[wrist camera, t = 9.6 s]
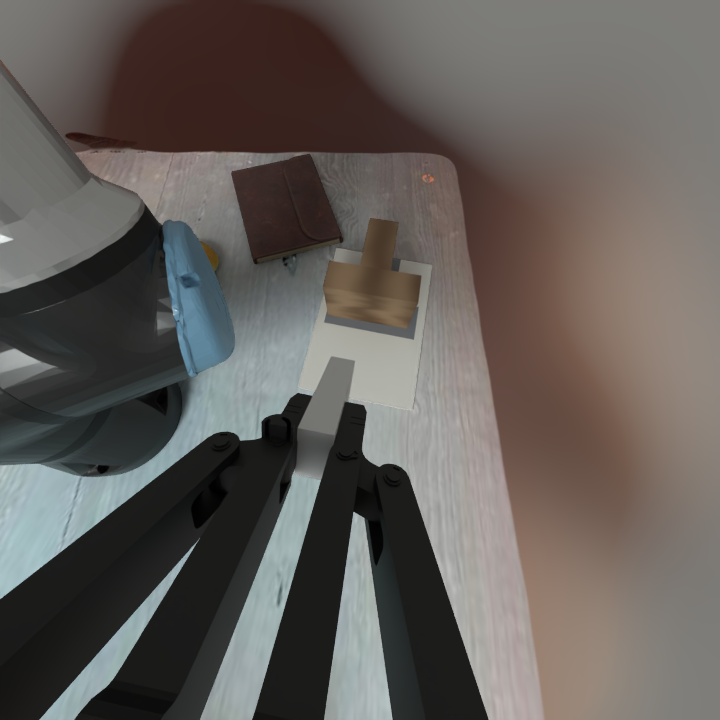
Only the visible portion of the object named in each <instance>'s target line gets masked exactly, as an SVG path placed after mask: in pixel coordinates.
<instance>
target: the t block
mask: <svg viewBox="0 0 720 720" xmlns="http://www.w3.org/2000/svg"><path fill="white" fill-rule="evenodd" d="M398 223H399V222H393V221H386V220H380V219H374V218H370V220H369V225H368V230H367V235H366V239H365V244H364V249H363V254H362V258H361V263H360V265H354V264H347V263H341V262H335V261H329V265H328V269H327V273H326V276H325V280H324V284H323V290H324V296H325V301H326V307H327V312H328V315H329V316H335V317H341V318H347V319H353V320H359V321H365V322H371V323H376V324H382V325H388V326H394V327H400V328H406V329H407V327H408V325H409V323H410V320H411V318H412V316H413V314H414V311H415V309H416V307H417V305H418V301H419V293H420V285H421V275H415V274H409V273H403V272H396V271H391V266H392V260H393V254H394V248H395V241H396V235H397V229H398Z"/></svg>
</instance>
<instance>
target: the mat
mask: <svg viewBox="0 0 720 720" xmlns="http://www.w3.org/2000/svg"><path fill="white" fill-rule="evenodd" d="M362 254H363V252H357V251H352V250H346V249H341V248H336V251H335V255H334V259H333V261H335V262H341V263H347V264H354V265H360V263H361V258H362ZM391 271H396V272H403V273H409V274H415V275H421V285H420V293H419V301H418V305H417V307H416V309H415V311H414V314H413V316H412V318H411V320H410V323H409V325H408V327H407V329H406V328H400V327H394V326H388V325H382V324H376V323H371V322H365V321H359V320H353V319H347V318H341V317H335V316H329V315H328V312H327V307H326V301H325V296H324V294H323V298H322V301H321V305H320V309H319V312H318V316H317V319H316V323H315V327H314V330H313V334H312V337H311V341H310V344H309V348H308V352H307V355H306V359H305V362H304V366H303V369H302V373H301V377H300V380H299V384H298V388H301V389H306V390H311V391H315V390H316V388H317V386H318V383H319V381H320V379H321V377H322V375H323V373H324V371H325V369H326V366H327V364H328V362H329V360H330V358H331V356H333V357H339V358H344V359H349V360H354V361H355V366H354V371H353V377H352V383H351V389H350V395H349V398H350V399H355V400H360V401H365V402H370V403H375V404H380V405H385V406H390V407H395V408H400V409H405V410H409V411H413V404H414V397H415V389H416V382H417V375H418V367H419V360H420V352H421V345H422V338H423V330H424V323H425V316H426V308H427V301H428V294H429V286H430V279H431V272H432V265H429V264H423V263H418V262H412V261H407V260H401V259H395V258H393V260H392V266H391Z"/></svg>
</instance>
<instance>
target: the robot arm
mask: <svg viewBox="0 0 720 720" xmlns="http://www.w3.org/2000/svg"><path fill="white" fill-rule="evenodd" d="M234 346H235V335H234V329H233V324H232V321H231V317H230V314H229V310H228V307H227V304H226V301H225V298H224V295H223V293H222V290H221V287H220V285H219V282H218V280H217V277H216V275H215V272H214V270H213V268H212V265H211V263H210V261H209V259H208V257H207V255H206V253H205V251H204V249H203V247H202V245H201V243H200V241H199V240H198V238H197V237H196V235H195V234H194V233H193V231H192V230H191V228H190V227H189V226H188V225H187V224H186V223H184V222H182V221H175V222H174V221H172V220H167V221H165V222H164V223H163V225H161V224H160V223H159V222H158V221H157V220H156V219H155V217H154V216H153V214H152V213H151V212H150V210H149V209H148V207H147V206H146V205H145V203H144V202H143V200H142V199H141V198H140V197H139V196H138V194H137V193H135V192H133V191H131V190H128V189H126V188H123V187H121V186H118V185H116V184H113V183H111V182H108V181H106V180H103V179H101V178H99V177H97V176H96V175H94V174H93V173H91V172H90V171H89V170H88V169H87V168H86V166H85V165H84V164H83V163H82V161H81V160H80V159H79V158H78V156H77V155H76V154H75V153H74V151H73V150H72V149H71V148H70V146H69V145H68V144H67V143H66V141H65V140H64V139H63V138H62V136H61V135H60V134H59V133H58V131H57V130H56V129H55V128H54V126H53V125H52V124H51V123H50V121H49V120H48V119H47V117H46V116H45V115H44V114H43V113H42V111H41V110H40V109H39V107H38V106H37V105H36V104H35V102H34V101H33V100H32V99H31V97H30V96H29V95H28V94H27V93H26V91H25V90H24V89H23V87H22V86H21V85H20V84H19V82H18V81H17V80H16V79H15V77H14V76H13V75H12V74H11V72H10V71H9V70H8V69H7V67H6V66H5V65H4V64H3V62H2V61H1V60H0V465H16V464H41V465H44V466H48V467H51V468H54V469H57V470H60V471H64V472H67V473H70V474H73V475H77V476H83V477H101V476H111V475H118V474H122V473H126V472H129V471H131V470H134V469H136V468H138V467H140V466H141V465H143V464H145V463H146V462H148V461H149V460H150V459H152V458H153V457H154V456H155V455H156V454H157V453H159V452H160V450H161V449H162V448H163V447H164V446H165V445H166V444H167V442H168V441H169V439H170V438H171V436H172V435H173V433H174V431H175V429H176V427H177V424H178V421H179V418H180V414H181V407H182V398H181V392H180V388H179V386H178V383H177V382H179V381H182V380H184V379H187V378H190V377H192V378H193V377H195V376H197V375H198V373H199V372H201V371H203V370H206V369H208V368H210V367H212V366H215V365H217V364H219V363H221V362H223V361H225V360H226V359H228V358H229V357H230V355H231V354H232V352H233V350H234ZM354 366H355V361H354V360H349V359H344V358H339V357H333V356H331V358H330V360H329V362H328V364H327V366H326V369H325V371H324V373H323V375H322V377H321V379H320V381H319V383H318V386H317V388H316V390H315V392H314V394H313V396H310V395H305V394H300V393H297V394H296V395H294V396H293V397H291V398H290V400H289V402H288V404H287V406H286V407H285V409H284V411H283V412H282V414H275V415H271V416H268V417H266V418H265V419H264V420H263V421H262V438H260V439H256V440H245V441H240V440H239V437H238V436H237V435H236V434H234V433H231V432H220V433H216V434H213V435H212V436H210V437H208V438H207V439H206V440H204V441H203V442H202V443H200V444H199V445H198V446H197V447H195V448H194V449H193V450H191V451H190V452H189V453H188V454H186V455H185V456H184V457H182V458H181V459H180V460H179V461H177V462H176V463H175V464H173V465H172V466H171V467H170V468H168V469H167V470H166V471H164V472H163V473H162V474H161V475H159V476H158V477H157V478H155V479H154V480H153V481H152V482H150V483H149V484H148V485H146V486H145V487H144V488H143V489H141V490H140V491H139V492H137V493H136V494H135V495H134V496H132V497H131V498H130V499H128V500H127V501H126V502H125V503H123V504H122V505H121V506H119V507H118V508H117V509H116V510H114V511H113V512H112V513H110V514H109V515H108V516H107V517H105V518H104V519H103V520H101V521H100V522H99V523H98V524H96V525H95V526H94V527H92V528H91V529H90V530H89V531H87V532H86V533H85V534H84V535H82V536H81V537H80V538H78V539H77V540H76V541H75V542H73V543H72V544H71V545H69V546H68V547H67V548H66V549H64V550H63V551H62V552H60V553H59V554H58V555H57V556H55V557H54V558H53V559H51V560H50V561H49V562H48V563H46V564H45V565H44V566H42V567H41V568H40V569H39V570H37V571H36V572H35V573H33V574H32V575H31V576H30V577H28V578H27V579H26V580H24V581H23V582H22V583H21V584H19V585H18V586H17V587H15V588H14V589H13V590H12V591H10V592H9V593H8V594H6V595H5V596H4V597H3V598H1V599H0V720H39V719H40V718H41V717H42V716H43V715H44V714H45V713H46V711H47V710H48V709H49V708H50V707H51V706H52V705H53V703H54V702H55V701H56V700H57V699H58V698H59V697H60V696H61V694H62V693H63V692H64V691H65V690H66V689H67V688H68V687H69V685H70V684H71V683H72V682H73V681H74V680H75V679H76V677H77V676H78V675H79V674H80V673H81V672H82V671H83V670H84V668H85V667H86V666H87V665H88V664H89V663H90V662H91V661H92V659H93V658H94V657H95V656H96V655H97V654H98V653H99V651H100V650H101V649H102V648H103V647H104V646H105V645H106V644H107V642H108V641H109V640H110V639H111V638H112V637H113V636H114V635H115V633H116V632H117V631H118V630H119V629H120V628H121V627H122V625H123V624H124V623H125V622H126V621H127V620H128V619H129V618H130V616H131V615H132V614H133V613H134V612H135V611H136V610H137V609H138V607H139V606H140V605H141V604H142V603H143V602H144V601H145V599H146V598H147V597H148V596H149V595H150V594H151V593H152V592H153V590H154V589H155V588H156V587H157V586H158V585H159V584H160V583H161V581H162V580H163V579H164V578H165V577H166V576H167V575H168V573H169V572H170V571H171V570H172V569H173V568H174V567H175V566H176V564H177V563H178V562H179V561H180V560H181V559H182V558H183V557H184V555H185V554H186V553H187V552H188V551H189V550H190V549H191V547H192V546H193V545H194V544H195V543H196V542H197V541H198V540H199V541H198V542H197V544H196V546H195V547H194V549H193V551H192V552H191V554H190V555H189V557H188V559H187V560H186V562H185V564H184V565H183V567H182V569H181V570H180V572H179V573H178V575H177V577H176V578H175V580H174V582H173V583H172V585H171V587H170V588H169V590H168V592H167V593H166V595H165V596H164V598H163V600H162V601H161V603H160V605H159V606H158V608H157V610H156V611H155V613H154V614H153V616H152V618H151V619H150V621H149V623H148V624H147V626H146V628H145V629H144V631H143V632H142V634H141V636H140V637H139V639H138V641H137V642H136V644H135V646H134V647H133V649H132V650H131V652H130V654H129V655H128V657H127V659H126V660H125V662H124V664H123V665H122V667H121V668H120V670H119V672H118V673H117V674H116V676H115V677H114V679H113V680H112V681H111V683H110V684H109V685H108V686H107V687H106V688H105V689H103V690H102V691H101V692H100V693H98V694H97V695H96V696H94V697H93V698H92V699H91V700H90V701H89V702H88V704H87V705H86V706H85V707H84V708H83V709H82V710H81V712H80V713H79V714H78V716H77V717H76V718H75V720H200V718H201V715H202V712H203V710H204V707H205V705H206V702H207V700H208V697H209V694H210V692H211V689H212V687H213V684H214V682H215V679H216V676H217V674H218V671H219V669H220V666H221V664H222V661H223V658H224V656H225V653H226V651H227V648H228V646H229V643H230V640H231V638H232V635H233V633H234V630H235V628H236V625H237V622H238V620H239V617H240V615H241V612H242V609H243V607H244V604H245V602H246V599H247V597H248V594H249V591H250V589H251V586H252V584H253V581H254V579H255V576H256V573H257V571H258V568H259V566H260V563H261V561H262V558H263V555H264V553H265V550H266V548H267V545H268V543H269V540H270V537H271V535H272V532H273V530H274V527H275V525H276V522H277V519H278V517H279V514H280V512H281V509H282V507H283V504H284V501H285V499H286V496H287V494H288V491H289V488H290V486H291V478H292V474H293V472H294V469H295V475H299V476H304V477H309V478H314V479H319V480H321V482H320V486H319V489H318V493H317V496H316V500H315V503H314V507H313V510H312V514H311V517H310V521H309V524H308V528H307V531H306V535H305V538H304V542H303V545H302V549H301V552H300V556H299V559H298V563H297V566H296V570H295V573H294V577H293V580H292V584H291V588H290V591H289V595H288V598H287V602H286V605H285V609H284V612H283V616H282V619H281V623H280V626H279V630H278V633H277V637H276V640H275V644H274V647H273V651H272V654H271V658H270V661H269V665H268V668H267V672H266V675H265V679H264V682H263V686H262V689H261V693H260V696H259V700H258V703H257V706H256V710H255V713H254V716H253V719H252V720H324V715H325V708H326V701H327V694H328V687H329V680H330V673H331V666H332V659H333V652H334V645H335V637H336V630H337V623H338V616H339V609H340V602H341V595H342V588H343V581H344V574H345V567H346V560H347V553H348V546H349V539H350V532H351V525H352V518H353V512H355V513H357V514H359V515H360V516H362V517H364V518H365V525H366V532H367V540H368V547H369V554H370V561H371V568H372V575H373V582H374V589H375V597H376V604H377V611H378V618H379V625H380V632H381V639H382V646H383V653H384V661H385V668H386V675H387V682H388V689H389V696H390V703H391V710H392V717H393V720H488V717H487V713H486V710H485V707H484V704H483V701H482V698H481V695H480V692H479V689H478V686H477V683H476V680H475V677H474V674H473V671H472V668H471V665H470V662H469V659H468V656H467V653H466V650H465V646H464V643H463V640H462V637H461V634H460V631H459V628H458V625H457V622H456V619H455V616H454V613H453V610H452V607H451V604H450V601H449V598H448V595H447V592H446V589H445V586H444V583H443V579H442V576H441V573H440V570H439V567H438V564H437V561H436V558H435V555H434V552H433V549H432V546H431V543H430V540H429V537H428V534H427V531H426V528H425V525H424V522H423V519H422V516H421V512H420V509H419V506H418V503H417V500H416V497H415V494H414V491H413V488H412V485H411V482H410V479H409V477H408V475H407V473H406V472H405V471H404V470H403V469H402V468H401V467H399V466H397V465H394V464H384V465H382V466H380V467H378V466H376V465H374V464H372V463H371V462H369V461H368V460H367V459H366V458H365V456H364V455H363V452H362V442H363V435H364V428H365V421H366V414H367V412H366V409H365V407H364V405H359V404H354V403H349V402H348V400H349V395H350V389H351V383H352V377H353V371H354ZM199 538H200V539H199Z"/></svg>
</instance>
